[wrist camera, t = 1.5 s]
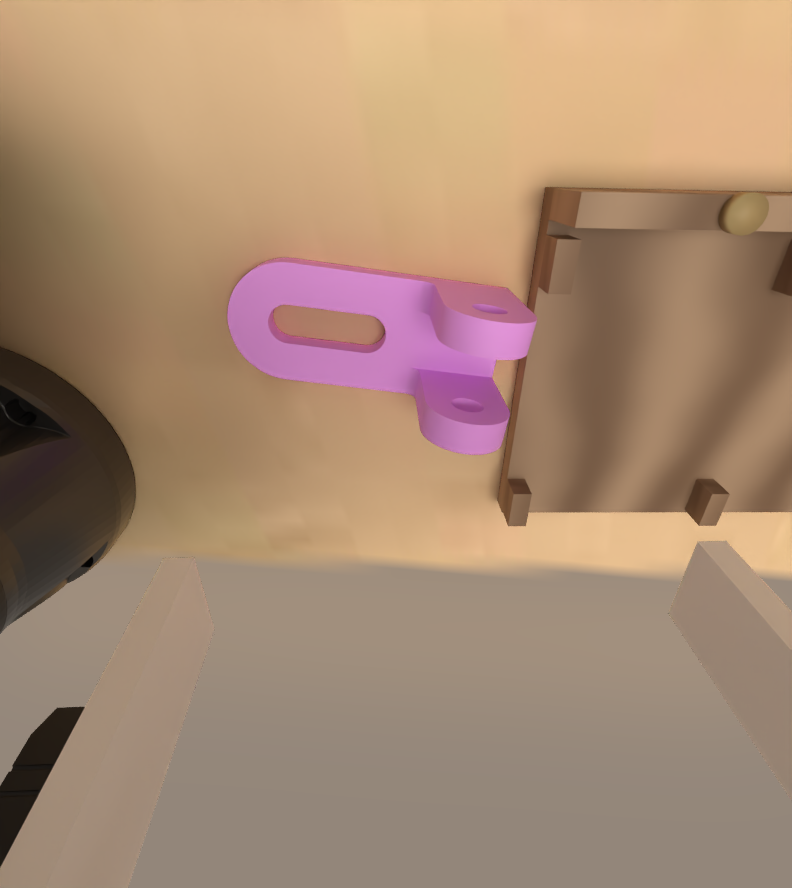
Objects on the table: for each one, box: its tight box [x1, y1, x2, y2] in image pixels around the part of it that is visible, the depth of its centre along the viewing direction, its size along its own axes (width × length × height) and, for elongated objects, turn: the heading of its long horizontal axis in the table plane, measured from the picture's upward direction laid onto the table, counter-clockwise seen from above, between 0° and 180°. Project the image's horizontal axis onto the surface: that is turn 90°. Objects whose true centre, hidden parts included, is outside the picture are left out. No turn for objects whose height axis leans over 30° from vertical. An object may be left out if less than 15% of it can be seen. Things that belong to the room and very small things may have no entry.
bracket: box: [228, 258, 537, 455], centre depth 21 cm, size 13×6×7 cm, turn 82°
